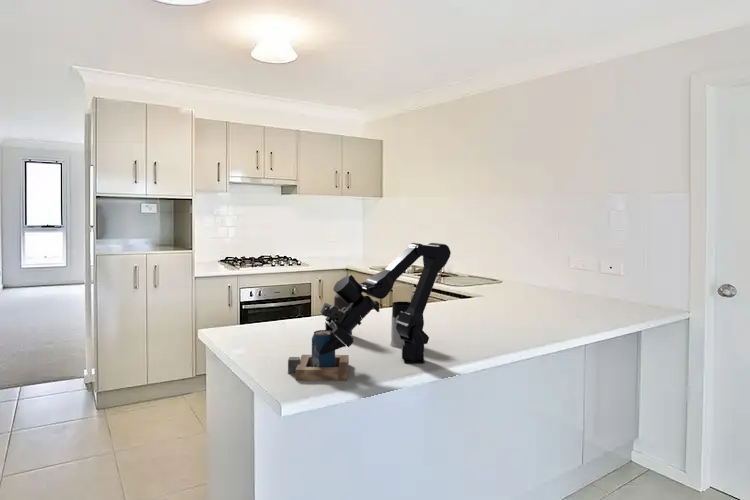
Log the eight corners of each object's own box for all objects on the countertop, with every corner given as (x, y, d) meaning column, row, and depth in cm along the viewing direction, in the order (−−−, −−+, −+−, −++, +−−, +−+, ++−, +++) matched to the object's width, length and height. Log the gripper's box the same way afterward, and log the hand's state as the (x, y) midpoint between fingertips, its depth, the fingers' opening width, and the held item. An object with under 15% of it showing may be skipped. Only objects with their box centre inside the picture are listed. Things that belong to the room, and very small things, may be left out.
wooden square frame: (348, 364, 158) (348, 351, 158) (346, 380, 144) (347, 366, 143) (292, 363, 158) (292, 351, 158) (284, 379, 143) (284, 366, 143)
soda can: (336, 368, 154) (337, 329, 153) (332, 376, 147) (333, 335, 146) (314, 367, 155) (314, 329, 154) (309, 375, 148) (309, 334, 147)
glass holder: (394, 348, 176) (394, 306, 175) (382, 338, 190) (383, 298, 189) (417, 347, 179) (418, 305, 177) (404, 337, 192) (405, 298, 191)
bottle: (349, 338, 189) (349, 285, 187) (331, 337, 190) (332, 284, 188) (353, 334, 195) (354, 282, 194) (336, 333, 197) (337, 282, 195)
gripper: (332, 288, 159) (296, 324, 157) (342, 299, 141) (302, 340, 139) (356, 312, 161) (322, 348, 160) (369, 326, 143) (330, 367, 142)
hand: (318, 350), depth 150 cm, fingers closed on soda can, 7 cm apart
